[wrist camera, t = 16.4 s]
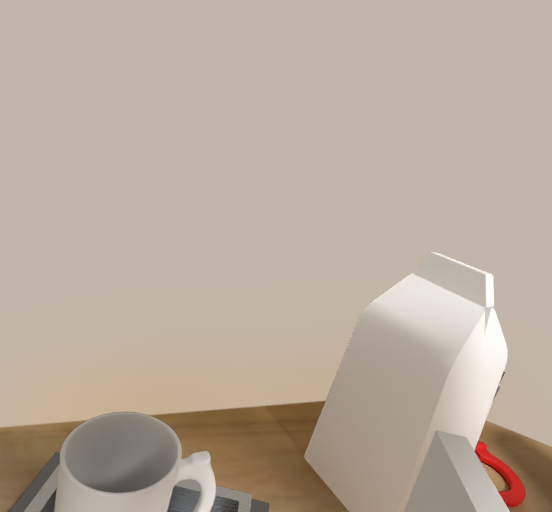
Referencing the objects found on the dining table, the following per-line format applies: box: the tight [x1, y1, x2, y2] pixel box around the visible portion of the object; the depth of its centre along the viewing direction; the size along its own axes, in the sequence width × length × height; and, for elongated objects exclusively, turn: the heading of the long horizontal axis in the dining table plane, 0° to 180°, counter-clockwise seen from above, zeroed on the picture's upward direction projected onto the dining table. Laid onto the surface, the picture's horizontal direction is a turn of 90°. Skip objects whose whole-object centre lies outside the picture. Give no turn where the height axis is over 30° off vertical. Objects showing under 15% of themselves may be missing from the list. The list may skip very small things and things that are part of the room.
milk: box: [304, 252, 508, 512], centre depth 42 cm, size 12×12×26 cm
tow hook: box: [475, 371, 525, 507], centre depth 50 cm, size 8×13×9 cm
